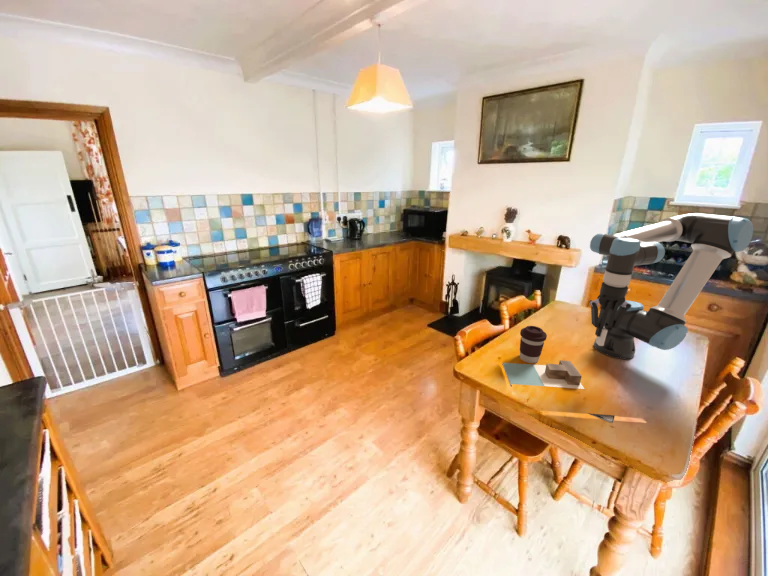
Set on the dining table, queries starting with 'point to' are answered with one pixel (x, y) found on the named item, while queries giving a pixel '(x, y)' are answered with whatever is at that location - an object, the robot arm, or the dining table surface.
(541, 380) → the board
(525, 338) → the coffee cup
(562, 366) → the t block
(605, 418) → the smartphone
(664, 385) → the dining table surface
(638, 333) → the robot arm
